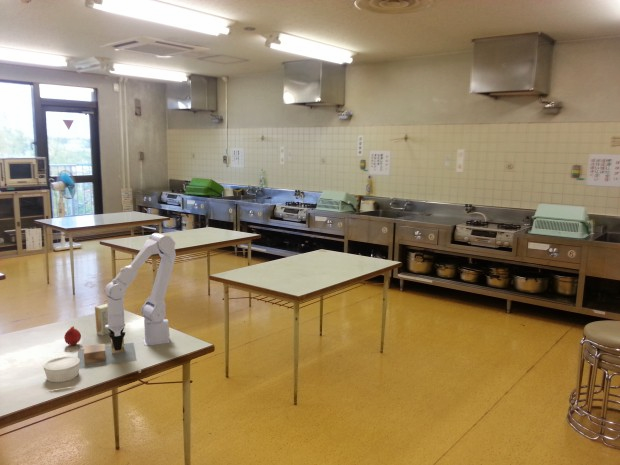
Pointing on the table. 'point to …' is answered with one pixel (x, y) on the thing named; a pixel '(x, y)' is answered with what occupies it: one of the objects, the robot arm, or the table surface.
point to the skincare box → (102, 319)
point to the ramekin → (62, 369)
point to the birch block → (117, 350)
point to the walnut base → (94, 353)
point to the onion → (72, 336)
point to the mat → (111, 356)
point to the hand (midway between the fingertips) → (117, 347)
